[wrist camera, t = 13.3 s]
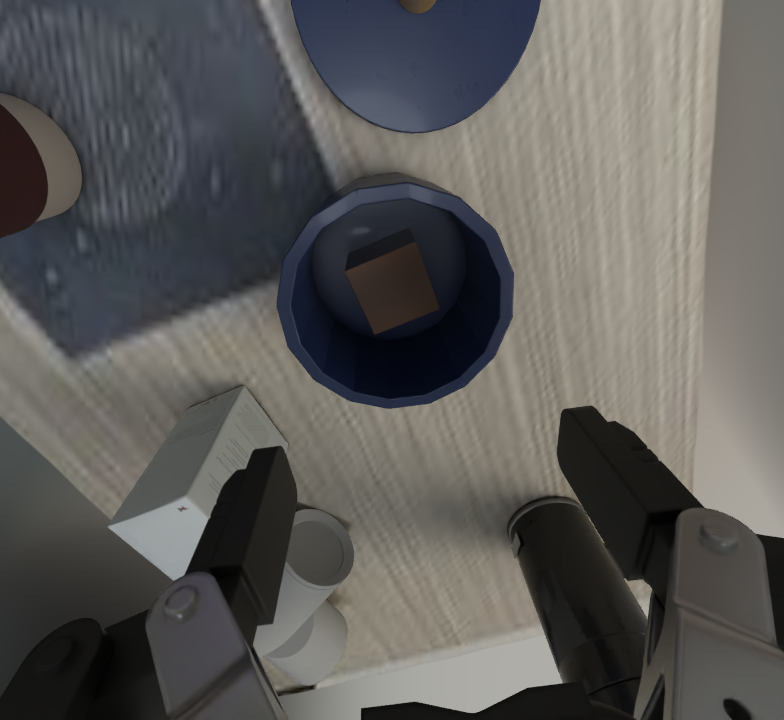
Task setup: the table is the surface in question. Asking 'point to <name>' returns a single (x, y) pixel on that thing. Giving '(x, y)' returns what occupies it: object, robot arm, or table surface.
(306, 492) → the table surface
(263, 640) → the bent grey cylinder
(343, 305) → the tin
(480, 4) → the lid
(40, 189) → the coffee cup
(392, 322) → the block
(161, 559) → the small box
